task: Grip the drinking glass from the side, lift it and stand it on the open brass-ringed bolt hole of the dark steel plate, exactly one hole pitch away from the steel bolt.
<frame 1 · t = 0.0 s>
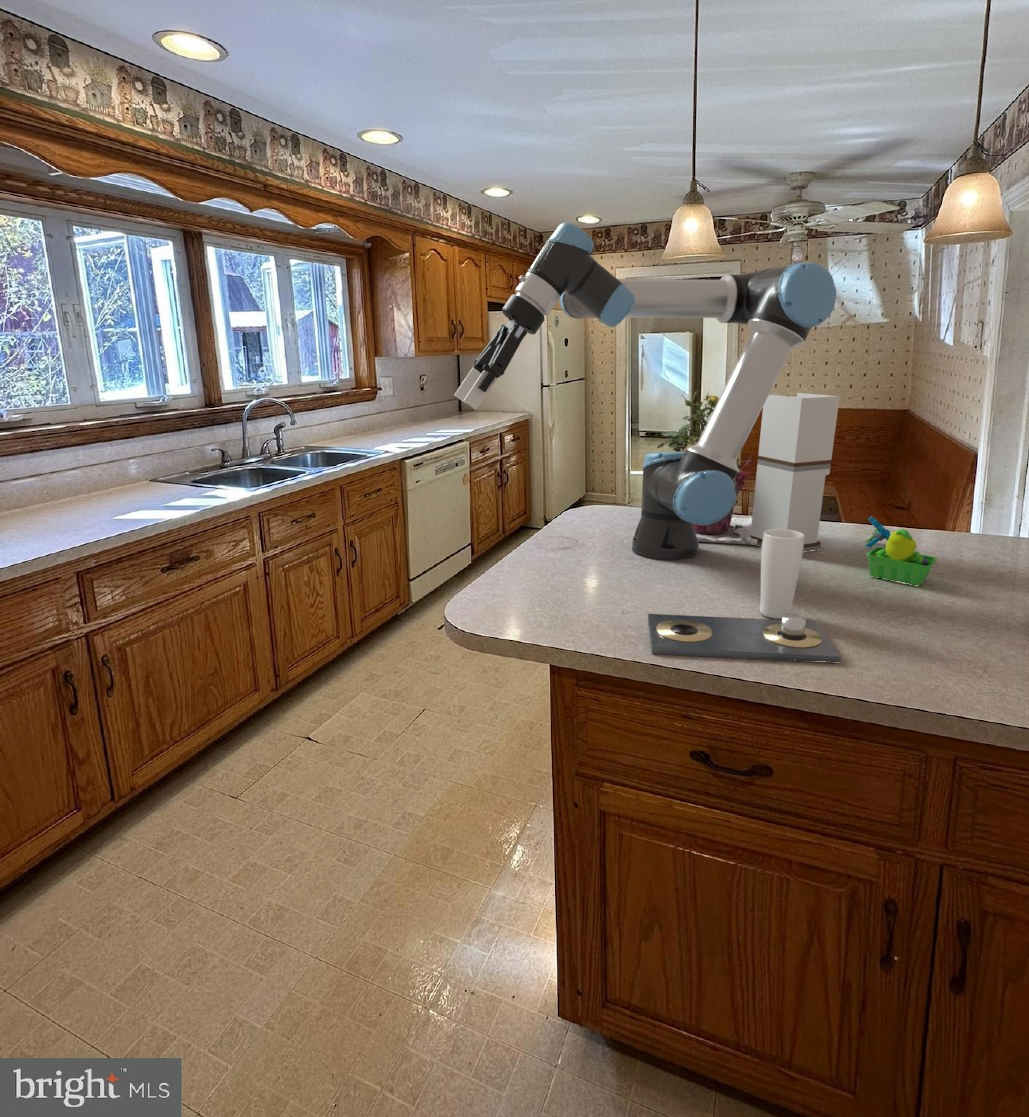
hand: (464, 402, 132), 36 cm above the counter, tool tilted 35°, fingers open, 13 cm apart
blue plastic t-shaped piece: (881, 549, 166), on the counter
bolt plate: (736, 640, 115), on the counter
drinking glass: (774, 615, 126), on the counter
white banded pillar: (783, 547, 167), on the counter, touching potted flower
fruit basket: (896, 581, 144), on the counter
potted flower: (701, 529, 182), on the counter, touching white banded pillar
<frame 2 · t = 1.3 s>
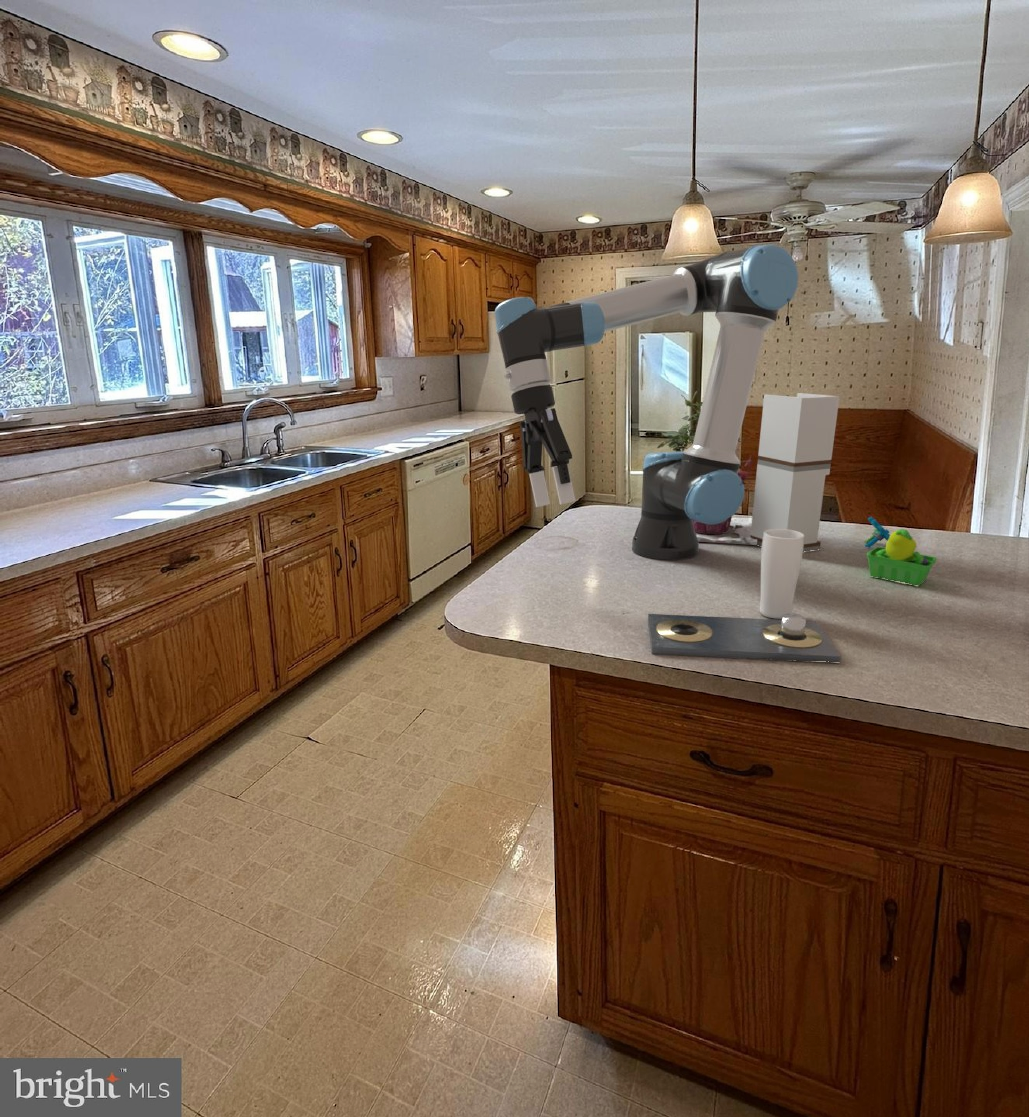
hand: (554, 504, 129), 18 cm above the counter, tool tilted 15°, fingers open, 13 cm apart
nothing on the counter moved.
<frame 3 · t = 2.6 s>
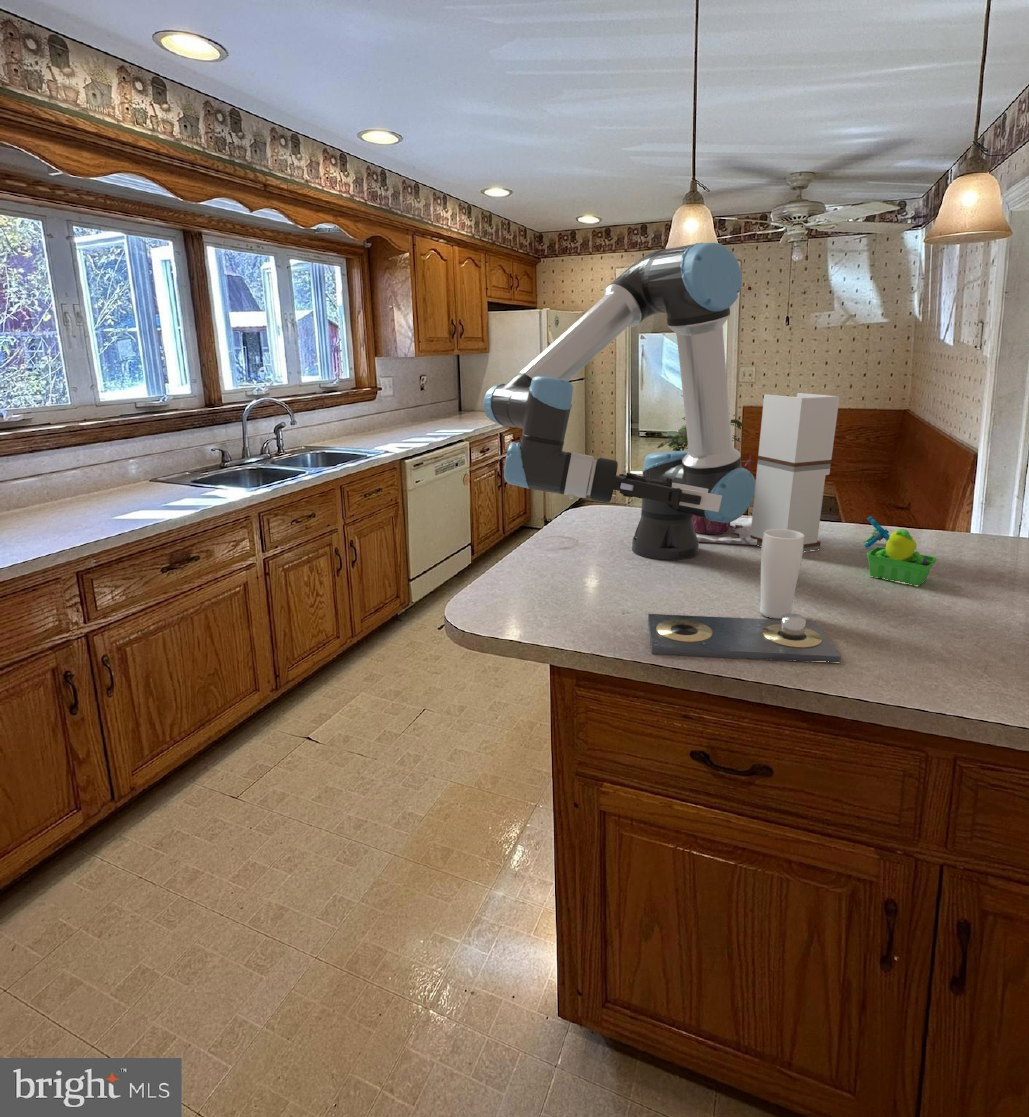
hand: (713, 499, 123), 20 cm above the counter, tool horizontal, fingers open, 13 cm apart
nothing on the counter moved.
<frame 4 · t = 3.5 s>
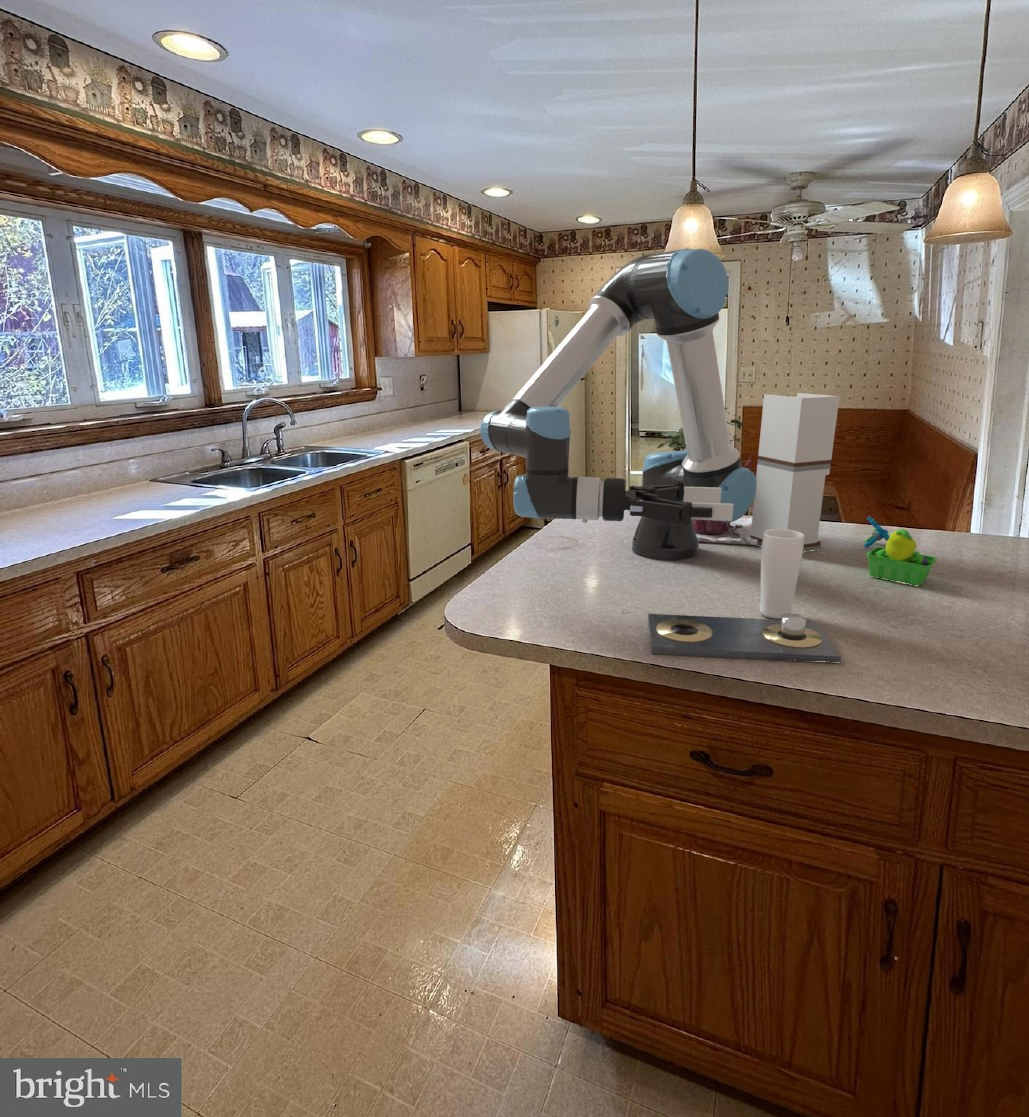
hand: (726, 503, 121), 20 cm above the counter, tool horizontal, fingers open, 13 cm apart
nothing on the counter moved.
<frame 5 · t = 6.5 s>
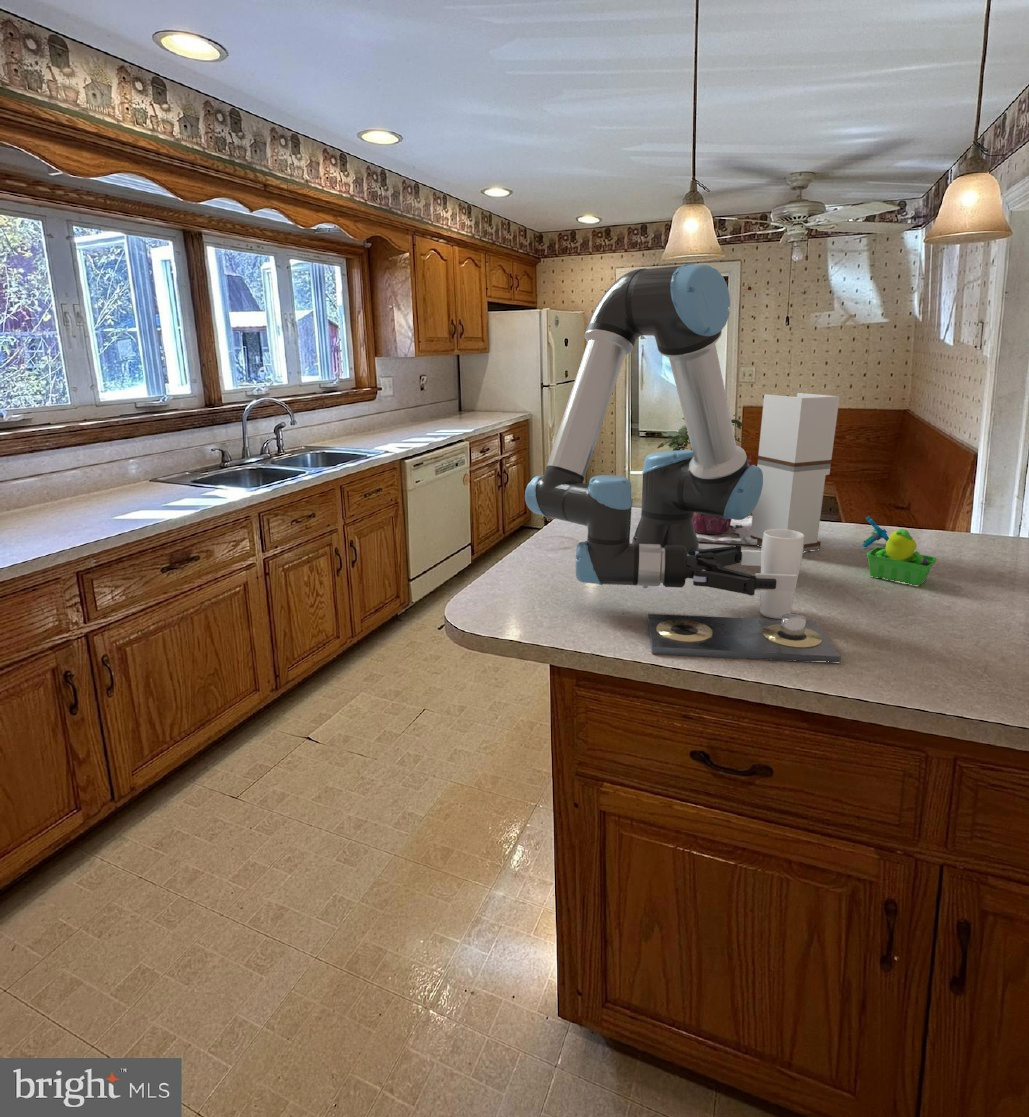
hand: (786, 570, 123), 8 cm above the counter, tool horizontal, fingers open, 13 cm apart
nothing on the counter moved.
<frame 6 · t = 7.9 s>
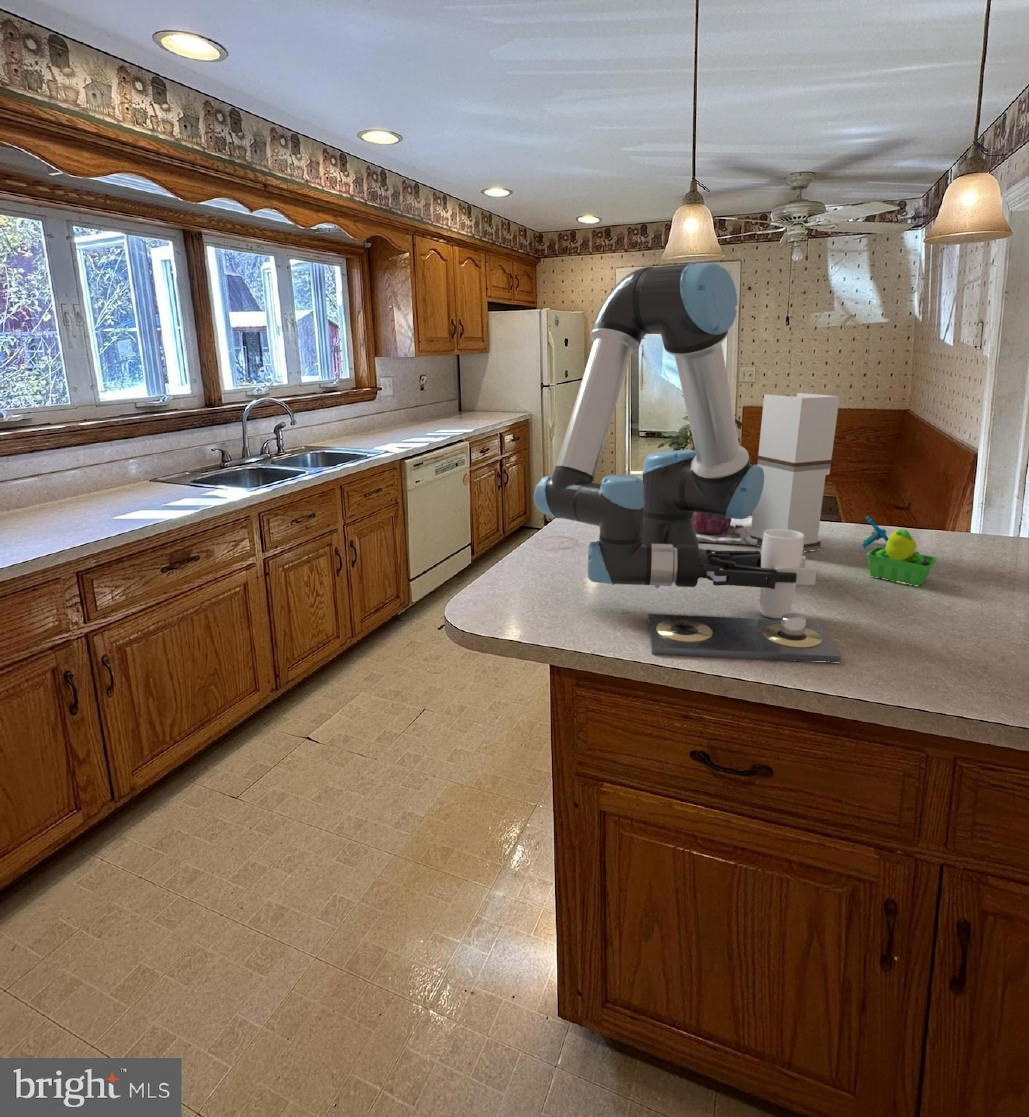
hand: (809, 570, 123), 9 cm above the counter, tool horizontal, fingers closed on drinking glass, 6 cm apart
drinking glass: (774, 615, 126), on the counter, touching gripper
everything else where it was.
when the fingers open (11 cm above the counter, at t = 13.6 s): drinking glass drops 1 cm, point 1 cm above the counter.
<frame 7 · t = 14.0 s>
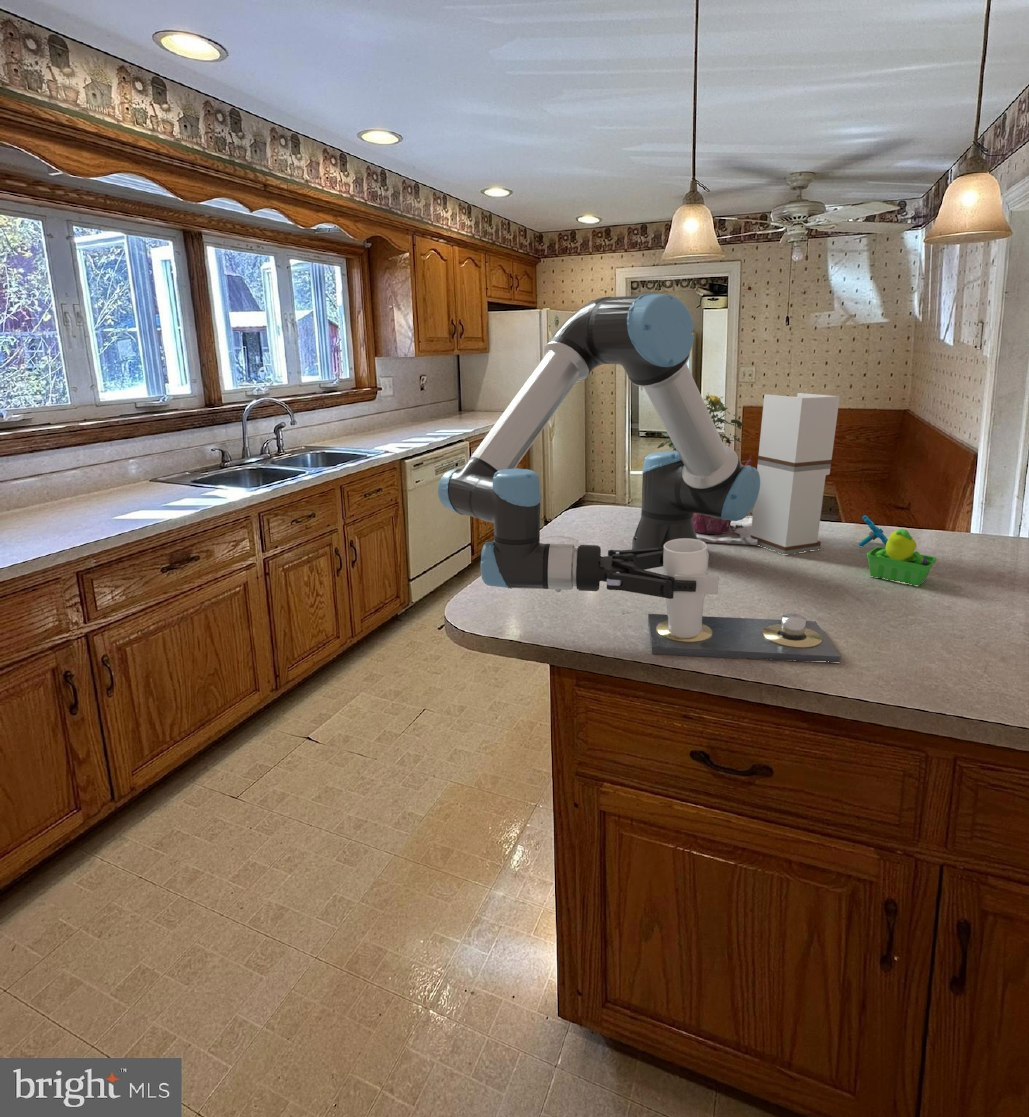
hand: (712, 572, 113), 11 cm above the counter, tool horizontal, fingers open, 11 cm apart
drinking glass: (684, 632, 115), point 1 cm above the counter, touching gripper
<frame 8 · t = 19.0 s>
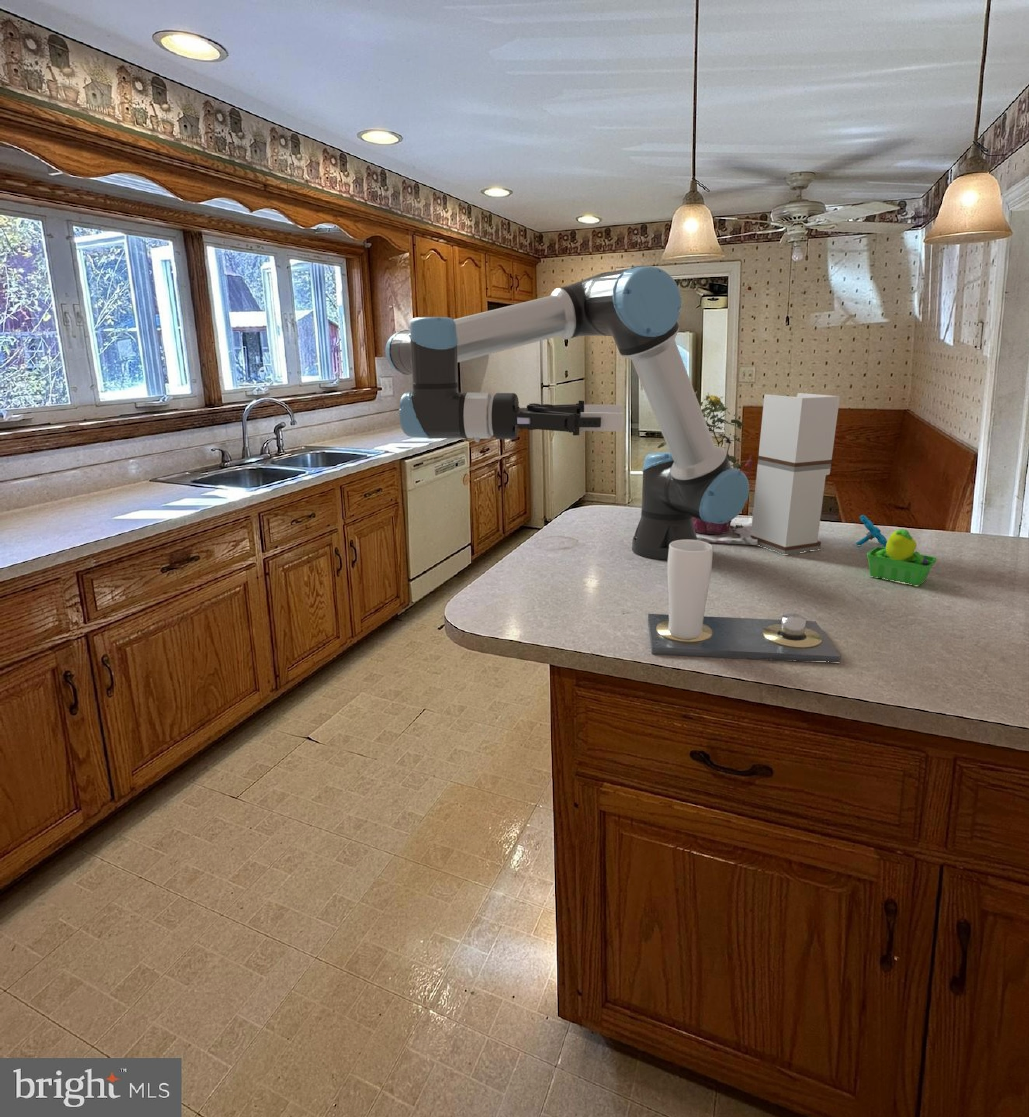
hand: (622, 417, 115), 35 cm above the counter, tool horizontal, fingers open, 13 cm apart
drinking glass: (684, 634, 115), point 1 cm above the counter, touching bolt plate
at the end: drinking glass 1.7 cm from the target spot on the bolt plate, point 1.3 cm above the bolt plate's base; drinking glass tilted 2°; the gripper is holding nothing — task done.
